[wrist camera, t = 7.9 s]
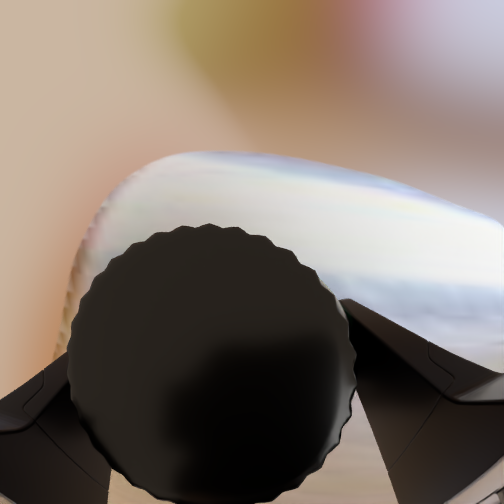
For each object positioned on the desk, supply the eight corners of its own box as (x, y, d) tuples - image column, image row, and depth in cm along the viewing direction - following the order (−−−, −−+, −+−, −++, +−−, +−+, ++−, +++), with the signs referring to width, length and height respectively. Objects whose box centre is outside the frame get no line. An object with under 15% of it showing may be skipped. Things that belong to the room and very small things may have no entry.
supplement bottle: (325, 308, 16) (425, 198, 4) (305, 428, 14) (361, 565, 2) (205, 290, 17) (85, 164, 5) (183, 405, 14) (21, 465, 3)
